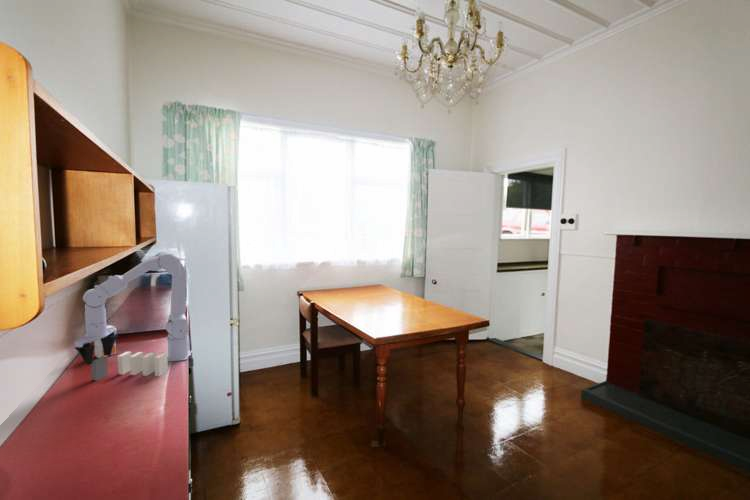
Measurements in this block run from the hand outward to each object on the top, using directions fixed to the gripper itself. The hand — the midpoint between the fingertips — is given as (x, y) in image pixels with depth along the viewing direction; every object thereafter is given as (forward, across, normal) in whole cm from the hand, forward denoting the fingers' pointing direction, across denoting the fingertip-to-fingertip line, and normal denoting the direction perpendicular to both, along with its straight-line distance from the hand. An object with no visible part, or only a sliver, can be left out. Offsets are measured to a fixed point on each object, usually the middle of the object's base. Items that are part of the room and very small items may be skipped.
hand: (98, 359), depth 121 cm
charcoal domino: (+7, 0, 0) cm, 7 cm away
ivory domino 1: (+7, -6, +5) cm, 10 cm away
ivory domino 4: (+7, -6, +20) cm, 21 cm away
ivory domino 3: (+7, -6, +15) cm, 17 cm away
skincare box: (+7, -19, -15) cm, 25 cm away
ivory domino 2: (+7, -6, +10) cm, 13 cm away
